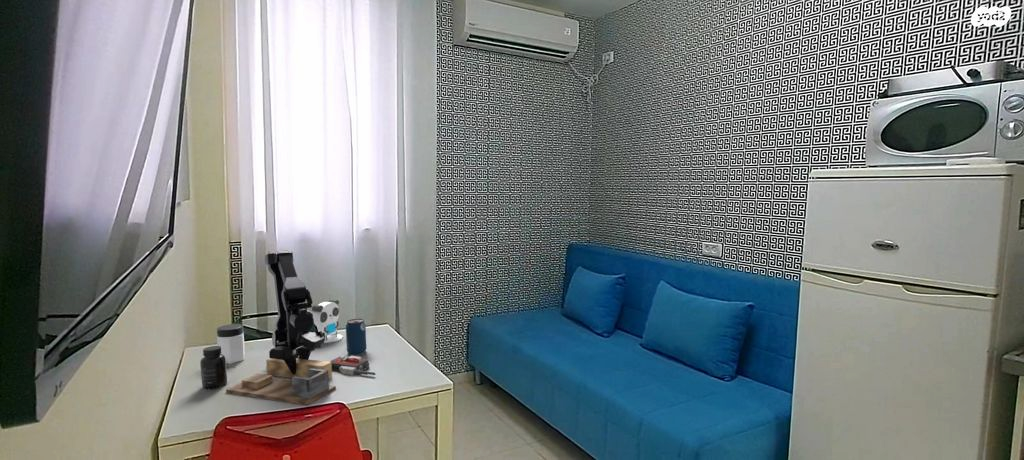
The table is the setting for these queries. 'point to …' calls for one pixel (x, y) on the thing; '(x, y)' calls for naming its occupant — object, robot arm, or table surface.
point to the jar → (231, 342)
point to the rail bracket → (286, 387)
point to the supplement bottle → (213, 368)
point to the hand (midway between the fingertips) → (299, 371)
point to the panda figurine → (327, 319)
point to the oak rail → (302, 367)
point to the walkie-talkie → (351, 365)
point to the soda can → (356, 336)
